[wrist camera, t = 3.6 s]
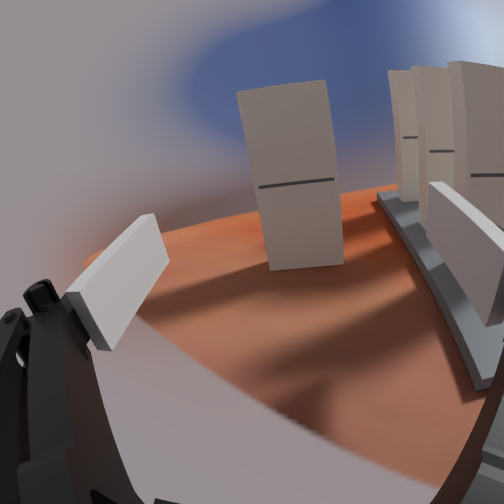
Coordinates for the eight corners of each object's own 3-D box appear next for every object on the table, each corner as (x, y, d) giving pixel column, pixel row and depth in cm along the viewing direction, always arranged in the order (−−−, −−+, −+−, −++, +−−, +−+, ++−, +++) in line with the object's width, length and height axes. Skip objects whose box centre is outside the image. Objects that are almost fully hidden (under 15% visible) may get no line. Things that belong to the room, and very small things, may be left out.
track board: (377, 200, 35) (376, 192, 34) (449, 195, 33) (450, 187, 32) (476, 391, 11) (482, 379, 11) (587, 348, 9) (593, 336, 9)
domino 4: (447, 260, 20) (447, 62, 13) (505, 252, 19) (514, 72, 12) (456, 273, 18) (460, 60, 12) (516, 264, 17) (529, 73, 11)
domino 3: (418, 221, 26) (410, 67, 19) (470, 217, 25) (469, 71, 18) (424, 230, 24) (418, 65, 18) (478, 225, 23) (479, 71, 17)
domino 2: (397, 196, 32) (387, 71, 26) (443, 193, 31) (437, 72, 24) (402, 202, 30) (392, 70, 24) (449, 199, 29) (444, 72, 23)
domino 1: (271, 259, 27) (240, 92, 21) (341, 253, 26) (323, 80, 19) (269, 271, 25) (235, 92, 19) (344, 264, 24) (325, 79, 18)
